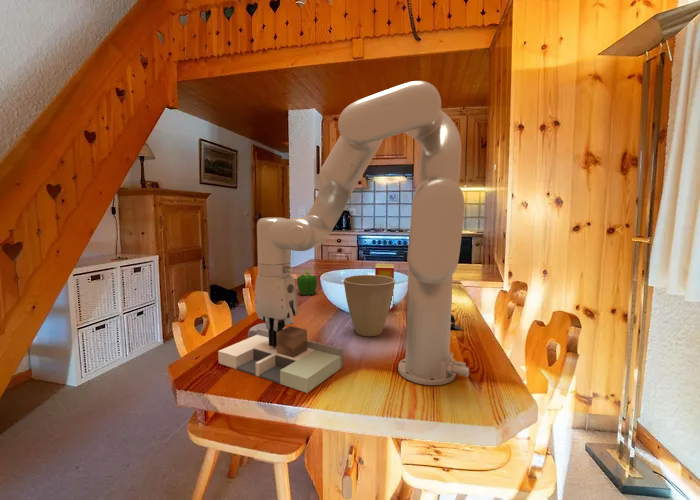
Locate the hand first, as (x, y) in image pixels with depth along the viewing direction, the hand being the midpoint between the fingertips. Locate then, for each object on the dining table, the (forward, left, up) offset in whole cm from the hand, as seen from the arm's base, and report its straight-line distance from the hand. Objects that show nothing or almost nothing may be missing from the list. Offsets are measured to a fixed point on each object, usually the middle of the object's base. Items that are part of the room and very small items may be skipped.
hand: (275, 344), depth 86 cm
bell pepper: (+32, -55, -4) cm, 64 cm away
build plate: (-29, -44, -4) cm, 54 cm away
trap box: (-3, +2, -4) cm, 5 cm away
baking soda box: (-4, -54, -4) cm, 54 cm away
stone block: (+9, -9, -4) cm, 14 cm away
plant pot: (-11, -28, -4) cm, 30 cm away
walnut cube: (-5, 0, 0) cm, 5 cm away
